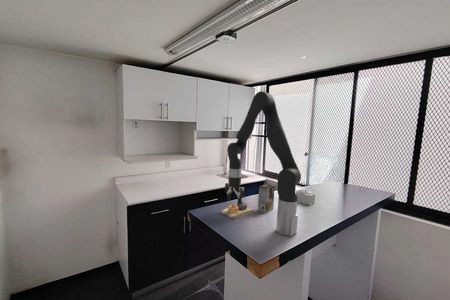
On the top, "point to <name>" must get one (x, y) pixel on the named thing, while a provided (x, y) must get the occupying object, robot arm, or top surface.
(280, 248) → the top surface
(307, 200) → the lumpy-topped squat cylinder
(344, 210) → the top surface
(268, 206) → the coffee box
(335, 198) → the top surface
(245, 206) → the gear board
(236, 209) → the gear
